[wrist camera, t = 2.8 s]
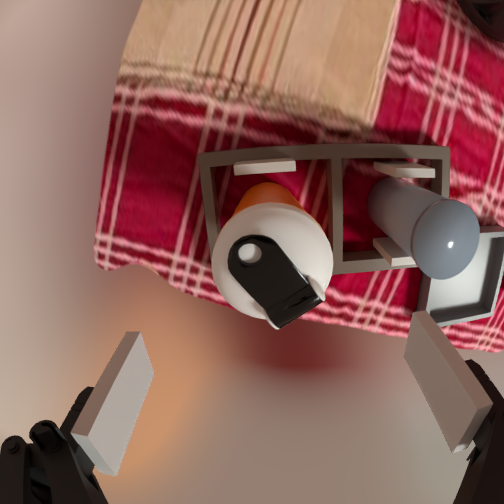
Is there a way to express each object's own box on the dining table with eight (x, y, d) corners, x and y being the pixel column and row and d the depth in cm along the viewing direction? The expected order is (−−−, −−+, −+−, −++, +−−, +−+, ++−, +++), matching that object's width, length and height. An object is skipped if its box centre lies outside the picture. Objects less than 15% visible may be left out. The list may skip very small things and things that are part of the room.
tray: (426, 229, 39) (436, 236, 37) (499, 225, 39) (510, 231, 36) (414, 319, 45) (421, 330, 42) (483, 307, 44) (492, 315, 41)
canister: (364, 175, 37) (418, 201, 23) (416, 175, 37) (483, 201, 23) (364, 232, 40) (411, 283, 26) (414, 229, 40) (473, 275, 26)
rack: (202, 152, 37) (189, 157, 30) (438, 145, 35) (467, 150, 29) (217, 276, 43) (210, 302, 36) (432, 259, 41) (455, 280, 34)
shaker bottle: (267, 158, 37) (274, 186, 18) (319, 210, 39) (368, 282, 20) (216, 211, 39) (177, 284, 21) (268, 258, 42) (272, 360, 23)
